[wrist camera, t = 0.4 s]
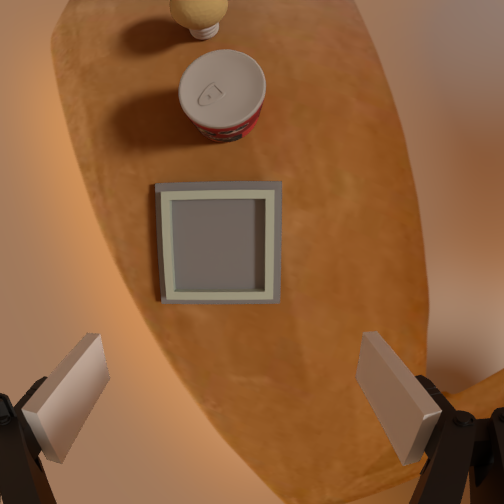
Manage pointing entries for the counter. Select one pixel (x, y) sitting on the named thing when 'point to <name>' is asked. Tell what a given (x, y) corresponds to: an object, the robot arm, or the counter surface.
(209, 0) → the light bulb
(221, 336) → the counter surface
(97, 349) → the robot arm
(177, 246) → the coaster
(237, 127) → the canned food
